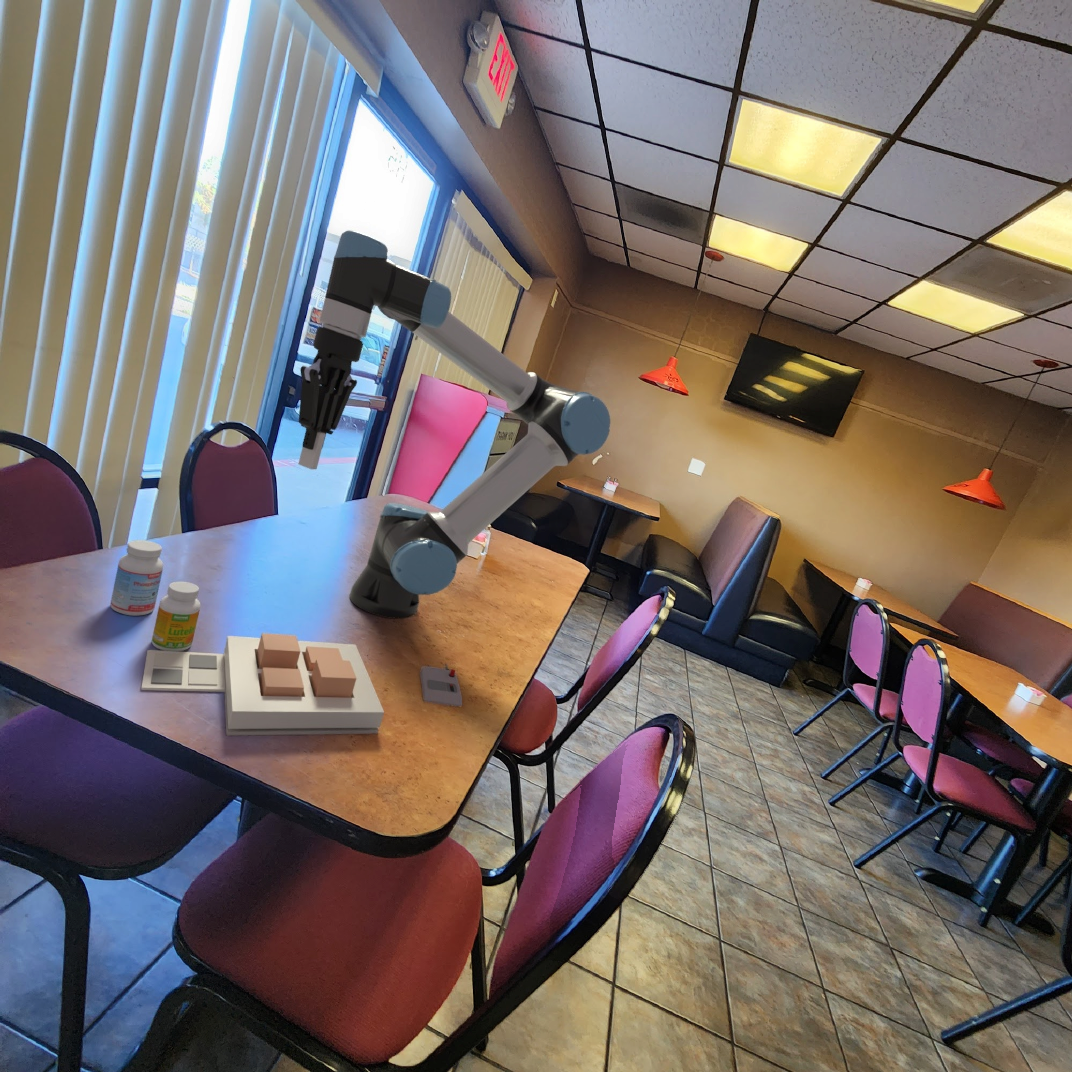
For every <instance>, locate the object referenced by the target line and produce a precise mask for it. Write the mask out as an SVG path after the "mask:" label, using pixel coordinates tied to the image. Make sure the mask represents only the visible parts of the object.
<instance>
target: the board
mask: <svg viewBox="0 0 1072 1072" xmlns="http://www.w3.org/2000/svg"><path fill="white" fill-rule="evenodd" d="M260 638H261V637H250V636H249V637H248V636H236V635H227V638H226V641H225V645H224V650H223V651H224V652H223V653H222V654H223V656H224V677H225V692H224V707H225V708H224V709H225V729H226V730H225V731H226V732H225V733H226V734H225V735H226V736H281V735H282V736H291V735H295V736H296V735H348V734H349V735H354V734H355V735H359V734H362V735H363V734H366V735H367V734H368V735H369V734H378V733H379V728H380V727H381V724H382V721H383V718H384V714H385V711H384V709H383V706H382V704H381V702H380V699H379V697H378V695H377V692H376V690H375V688H374V687H375V686H374V685H373V683H372V680H371V678H370V675H369V673H368V671H367V668H366V666H365V663H364V661H363V659H362V657H361V654H360V652H359V649H358V647H357V644H353V643H337V642H322V641H321V642H320V641H309V640H298V644H299V648H300V655H299V659H298V662H297V666H296V669H300V673H301V677H302V681H303V685H304V690H303V693H302V697H289V696H261V693H260V686H259V681H260V677H261V673H262V669H259V664H258V657H257V650H258V646H259V642H260ZM307 646H309V647H324V648H338V649H339V651H340V654H341V657H342V660H344V661H350V663H351V665H352V668H353V670H354V673H355V676H356V678H357V679H356V682H355V686H354V689H353V692H352V696H351V698H340V697H315V693H314V689H313V686H312V682H311V676H312V673H313V671H307V669H306V665H305V661H304V655H305V651H306V647H307Z"/></svg>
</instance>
